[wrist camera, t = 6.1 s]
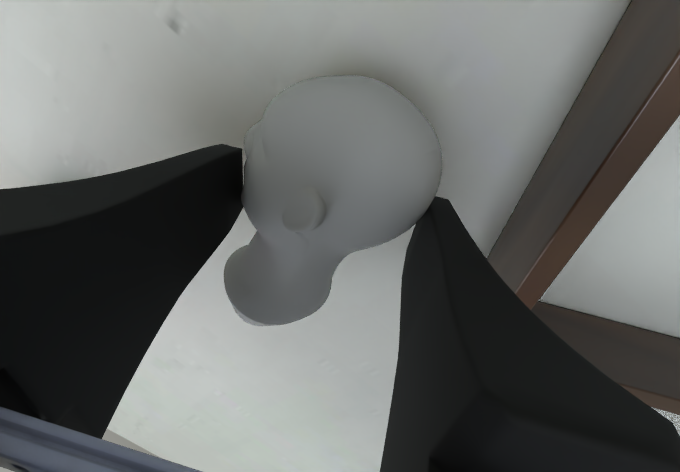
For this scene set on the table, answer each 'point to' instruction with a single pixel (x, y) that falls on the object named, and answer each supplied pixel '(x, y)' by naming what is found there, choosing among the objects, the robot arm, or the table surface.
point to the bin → (601, 196)
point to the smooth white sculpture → (326, 190)
